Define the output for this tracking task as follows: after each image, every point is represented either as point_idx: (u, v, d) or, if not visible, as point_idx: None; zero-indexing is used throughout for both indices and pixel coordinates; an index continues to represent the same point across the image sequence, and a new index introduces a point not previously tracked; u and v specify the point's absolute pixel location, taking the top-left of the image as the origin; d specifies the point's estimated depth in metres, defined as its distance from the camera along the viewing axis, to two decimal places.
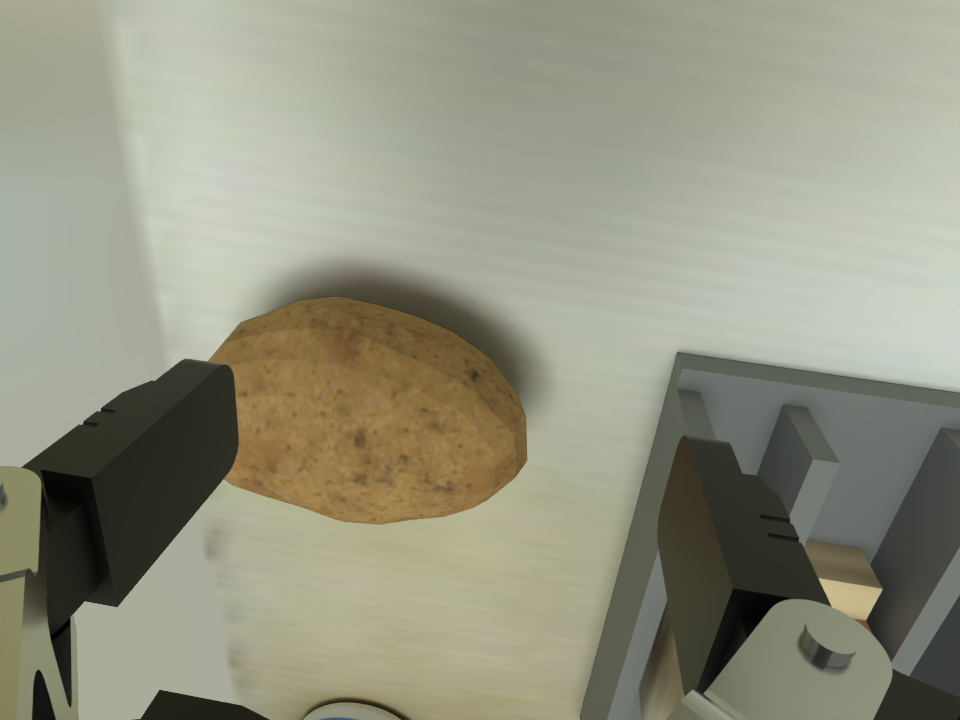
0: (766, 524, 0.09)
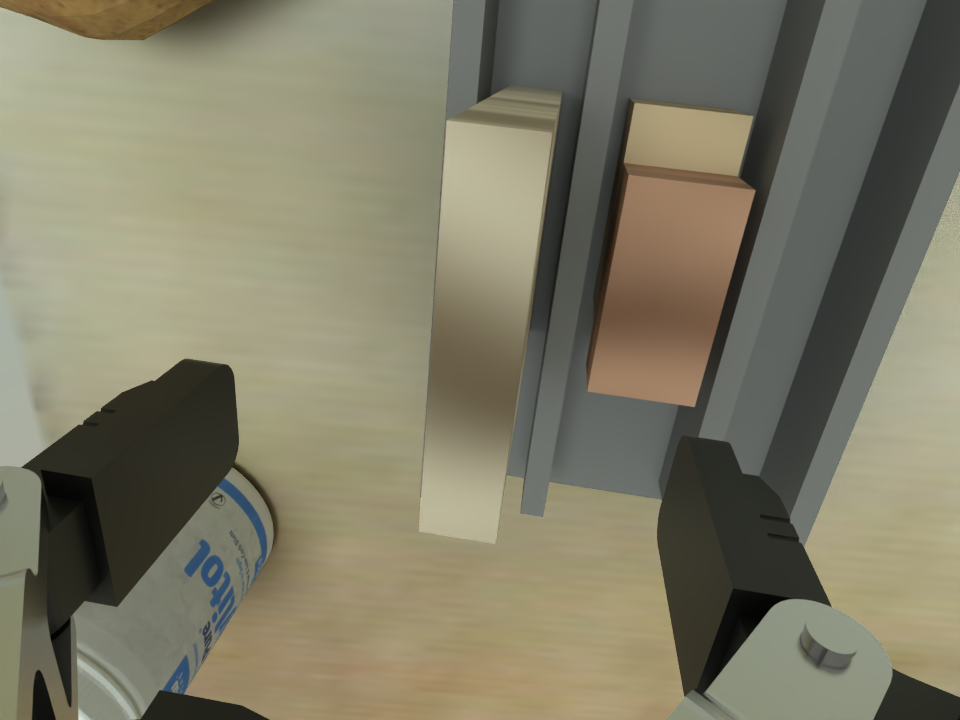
0: (766, 524, 0.09)
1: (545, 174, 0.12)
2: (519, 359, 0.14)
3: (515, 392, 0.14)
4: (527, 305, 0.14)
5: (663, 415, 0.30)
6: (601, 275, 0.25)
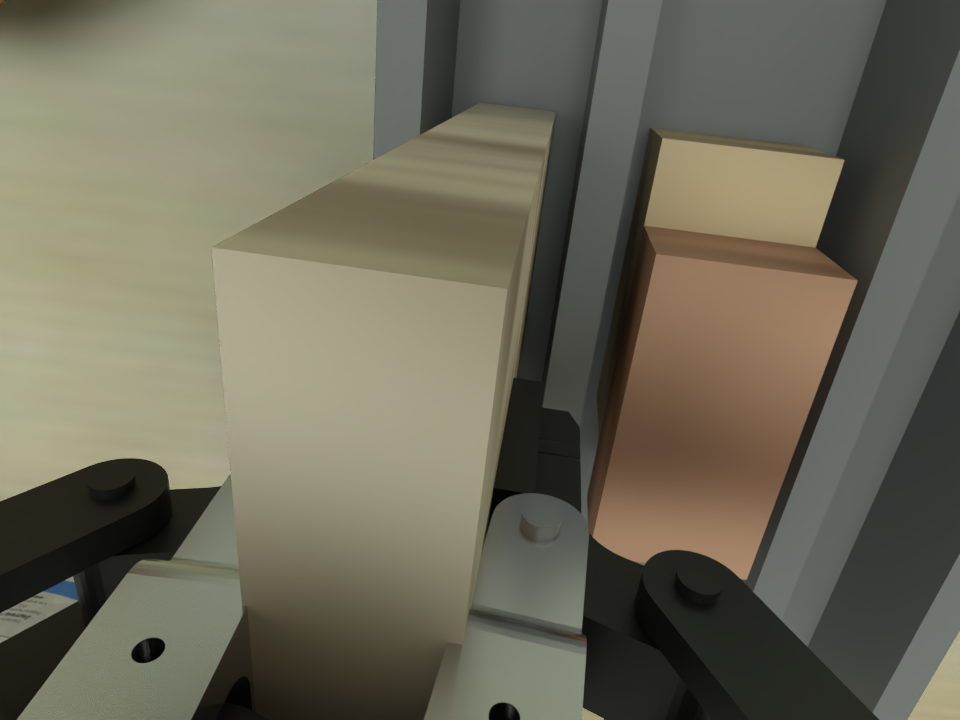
0: (555, 447, 0.10)
1: (491, 392, 0.04)
2: None
3: None
4: None
5: None
6: (609, 379, 0.18)
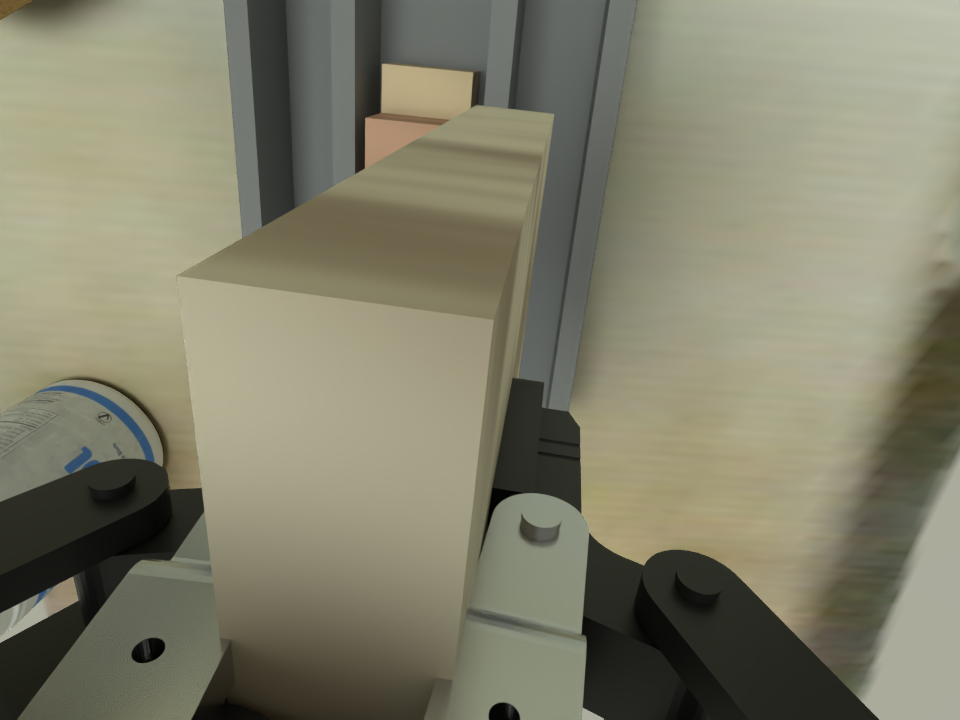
0: (555, 447, 0.10)
1: (478, 428, 0.04)
2: None
3: None
4: None
5: None
6: None
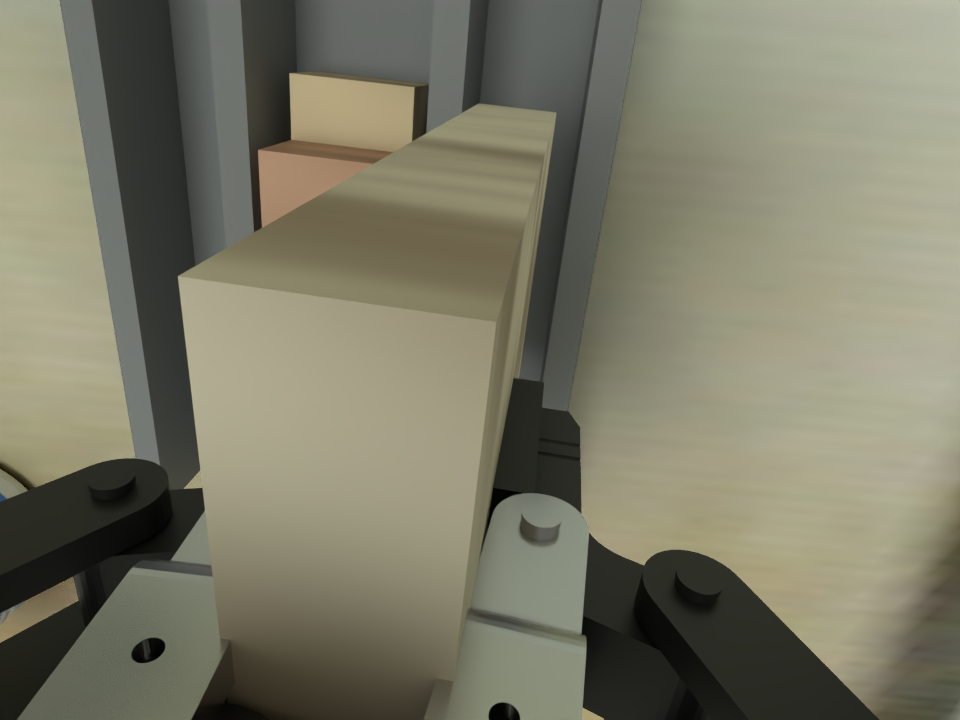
0: (555, 447, 0.10)
1: (480, 430, 0.04)
2: None
3: None
4: None
5: None
6: None
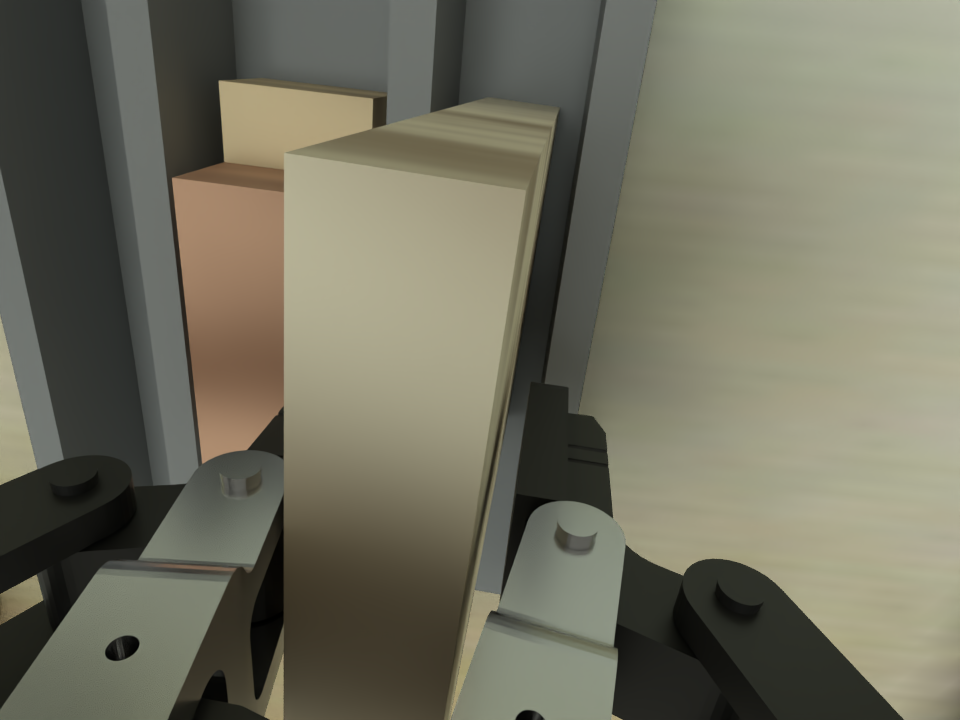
0: (583, 453, 0.10)
1: (509, 281, 0.05)
2: (455, 623, 0.07)
3: (448, 675, 0.07)
4: (470, 533, 0.07)
5: None
6: None
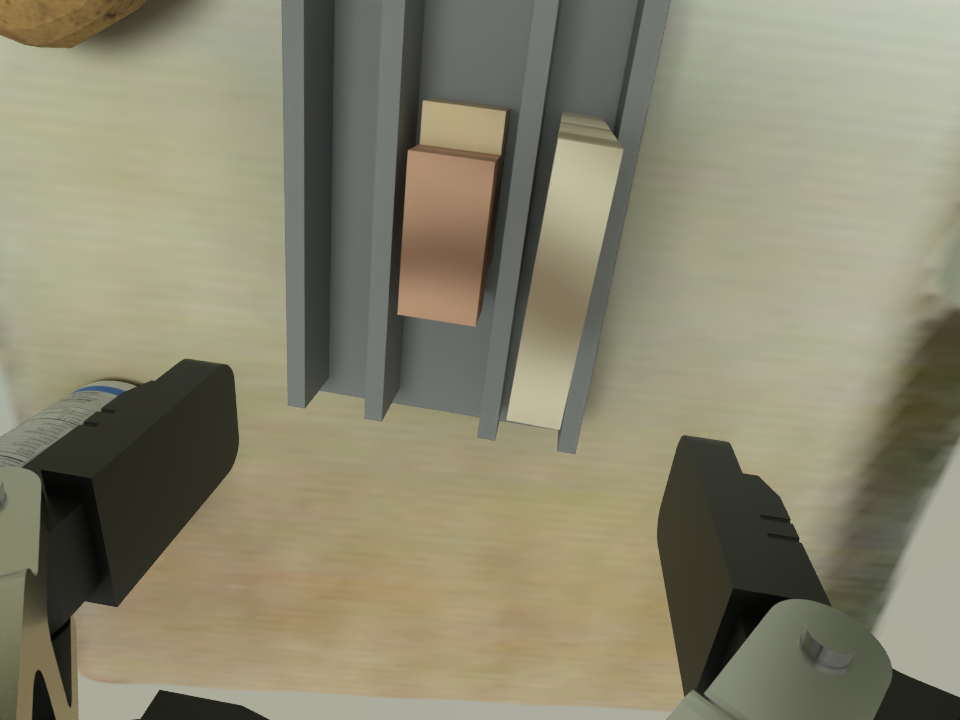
0: (766, 524, 0.09)
1: (617, 175, 0.20)
2: (589, 296, 0.21)
3: (584, 319, 0.22)
4: (597, 259, 0.21)
5: (483, 348, 0.38)
6: None
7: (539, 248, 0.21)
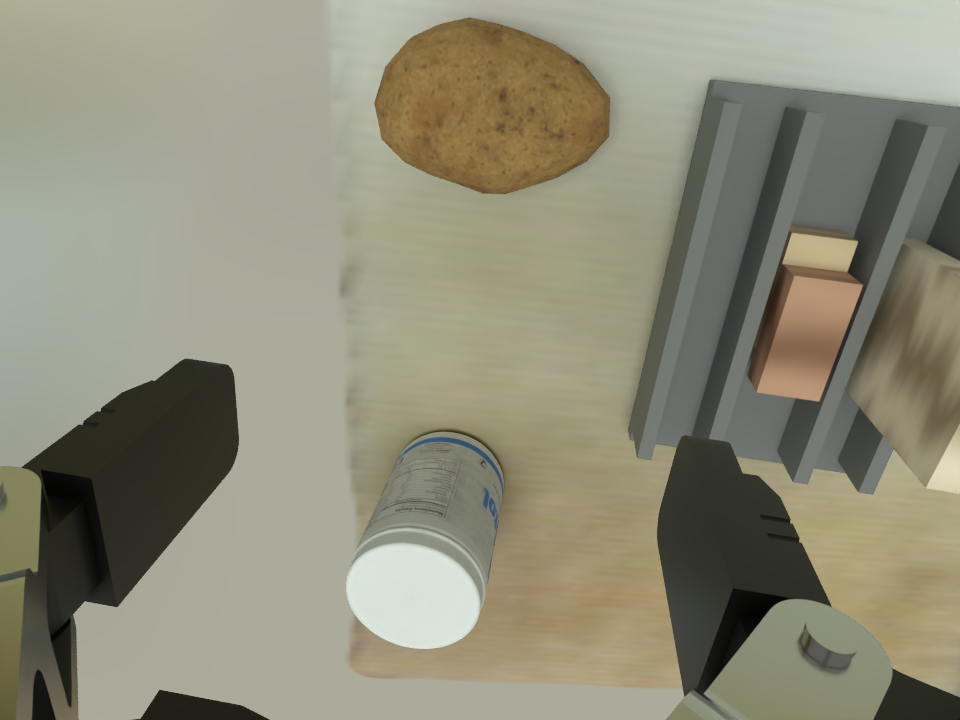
0: (766, 524, 0.09)
1: None
2: None
3: None
4: None
5: (783, 408, 0.48)
6: (761, 324, 0.43)
7: None
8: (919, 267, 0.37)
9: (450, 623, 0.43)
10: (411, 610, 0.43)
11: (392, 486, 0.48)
